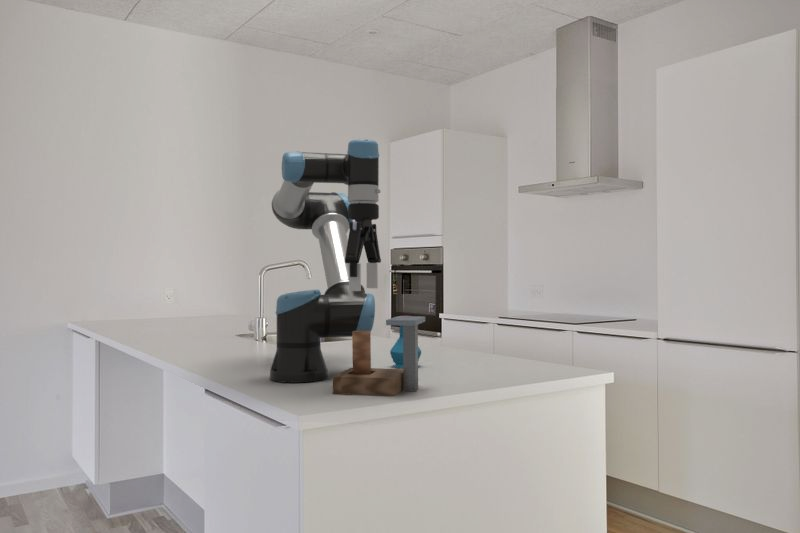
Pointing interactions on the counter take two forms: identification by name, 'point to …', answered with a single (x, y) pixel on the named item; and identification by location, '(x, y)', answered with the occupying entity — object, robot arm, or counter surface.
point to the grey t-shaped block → (409, 349)
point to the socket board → (369, 382)
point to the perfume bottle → (400, 351)
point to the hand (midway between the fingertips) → (363, 289)
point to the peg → (361, 352)
